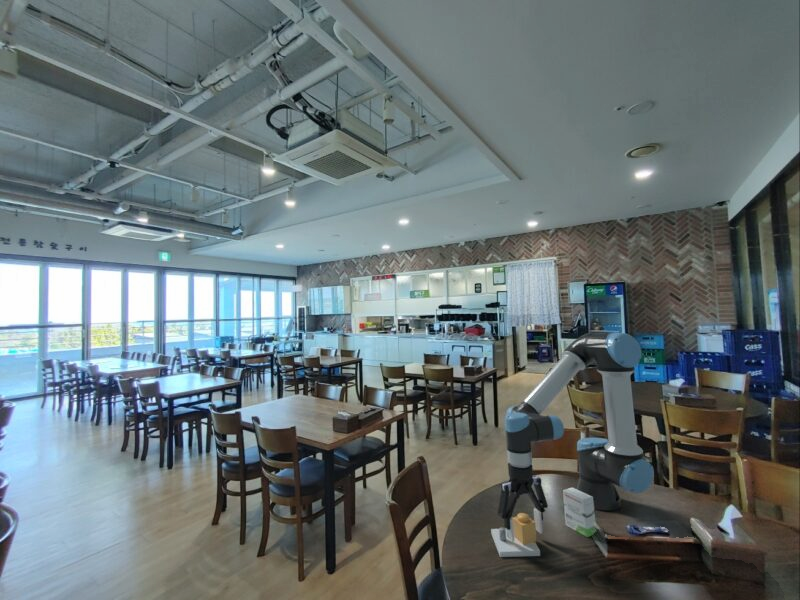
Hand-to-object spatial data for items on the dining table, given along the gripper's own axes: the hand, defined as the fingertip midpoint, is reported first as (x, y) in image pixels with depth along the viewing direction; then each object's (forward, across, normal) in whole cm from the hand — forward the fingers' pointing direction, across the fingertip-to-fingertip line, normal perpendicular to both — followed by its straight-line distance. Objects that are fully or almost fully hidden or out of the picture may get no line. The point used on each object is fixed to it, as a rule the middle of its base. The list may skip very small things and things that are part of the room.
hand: (524, 535), depth 114 cm
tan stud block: (+1, 0, 0) cm, 1 cm away
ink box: (+3, -22, 0) cm, 22 cm away
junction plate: (+3, +3, -1) cm, 4 cm away
